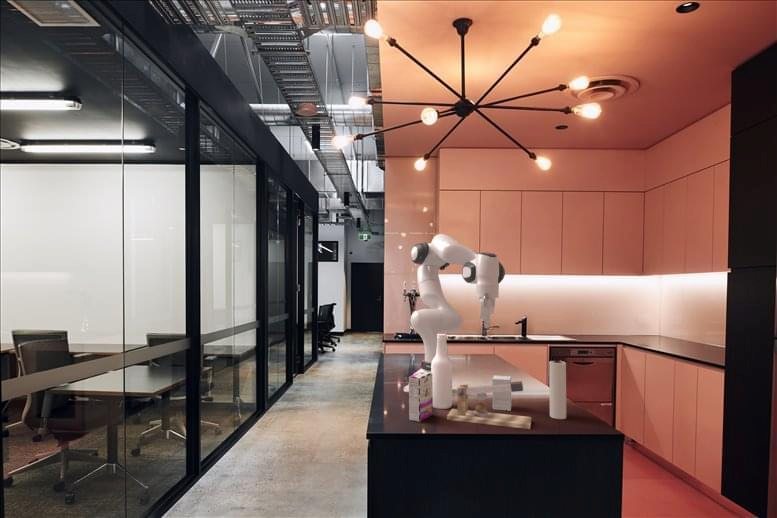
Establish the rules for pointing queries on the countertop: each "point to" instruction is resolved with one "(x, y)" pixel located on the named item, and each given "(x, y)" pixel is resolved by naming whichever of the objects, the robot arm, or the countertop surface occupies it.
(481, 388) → the lever
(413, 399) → the candy bar box
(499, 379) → the supplement box
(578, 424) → the countertop surface
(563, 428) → the countertop surface
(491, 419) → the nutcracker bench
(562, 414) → the paper towel roll
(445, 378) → the alcohol
